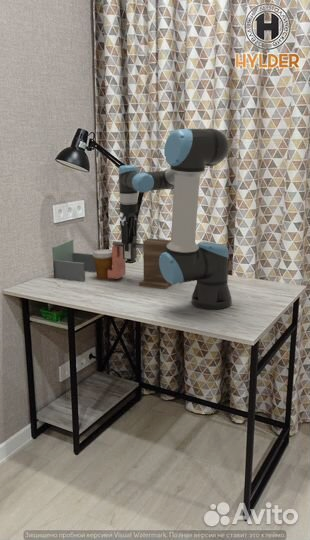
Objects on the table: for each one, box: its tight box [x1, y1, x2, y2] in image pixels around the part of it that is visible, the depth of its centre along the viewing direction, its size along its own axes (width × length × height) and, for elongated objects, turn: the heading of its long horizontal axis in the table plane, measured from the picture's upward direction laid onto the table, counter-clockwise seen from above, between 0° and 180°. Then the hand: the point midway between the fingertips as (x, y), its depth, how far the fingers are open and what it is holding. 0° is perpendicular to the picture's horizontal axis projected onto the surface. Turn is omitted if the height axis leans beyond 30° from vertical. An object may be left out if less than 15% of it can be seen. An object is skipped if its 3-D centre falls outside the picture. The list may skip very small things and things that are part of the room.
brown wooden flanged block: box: [138, 238, 173, 290], centre depth 225 cm, size 12×12×19 cm
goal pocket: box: [51, 239, 96, 282], centre depth 240 cm, size 16×15×14 cm
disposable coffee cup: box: [92, 248, 113, 281], centre depth 235 cm, size 10×10×12 cm
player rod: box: [107, 235, 143, 280], centre depth 227 cm, size 8×30×18 cm, turn 69°
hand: (129, 257), depth 229 cm, fingers closed on player rod, 3 cm apart
